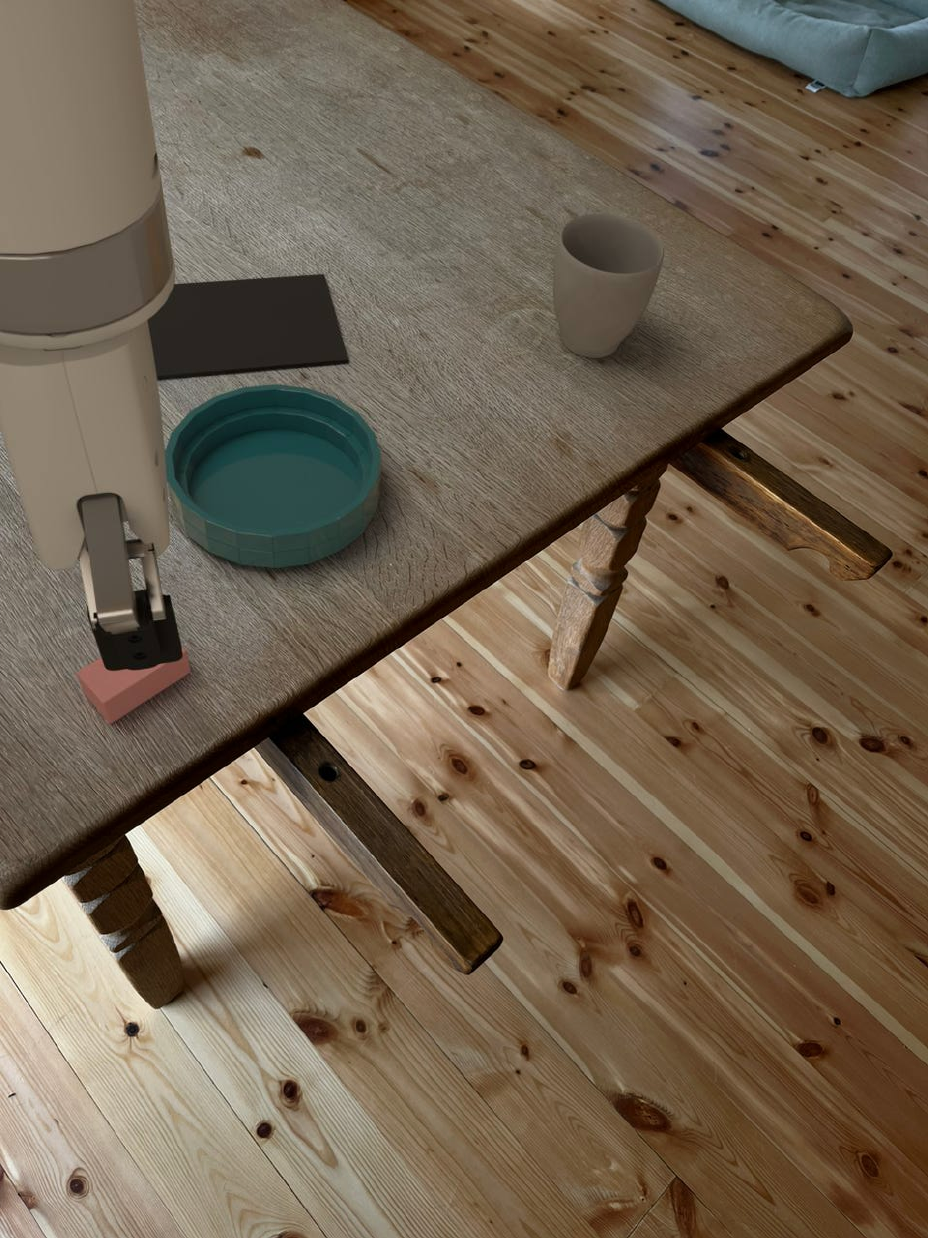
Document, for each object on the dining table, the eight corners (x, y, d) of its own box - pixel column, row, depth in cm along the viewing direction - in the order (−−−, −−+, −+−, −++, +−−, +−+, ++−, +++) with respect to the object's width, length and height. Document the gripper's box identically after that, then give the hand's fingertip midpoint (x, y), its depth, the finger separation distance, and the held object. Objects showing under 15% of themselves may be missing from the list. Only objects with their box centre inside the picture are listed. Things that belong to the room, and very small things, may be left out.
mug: (649, 369, 88) (679, 273, 81) (553, 373, 87) (573, 276, 79) (614, 285, 95) (637, 190, 88) (523, 287, 94) (540, 191, 86)
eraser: (110, 724, 63) (102, 703, 61) (83, 693, 64) (75, 672, 62) (191, 672, 65) (186, 650, 63) (164, 643, 67) (159, 621, 65)
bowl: (182, 586, 69) (174, 548, 66) (164, 434, 78) (156, 394, 75) (397, 557, 73) (400, 520, 70) (357, 414, 81) (358, 376, 78)
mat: (152, 380, 81) (151, 376, 81) (142, 289, 88) (141, 285, 88) (348, 363, 85) (348, 359, 85) (324, 277, 92) (324, 273, 91)
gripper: (-68, 105, 36) (45, 450, 50) (-93, 437, 27) (55, 753, 40) (148, 98, 38) (200, 434, 52) (197, 408, 28) (245, 720, 42)
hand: (136, 573), depth 46 cm, fingers open, 9 cm apart
